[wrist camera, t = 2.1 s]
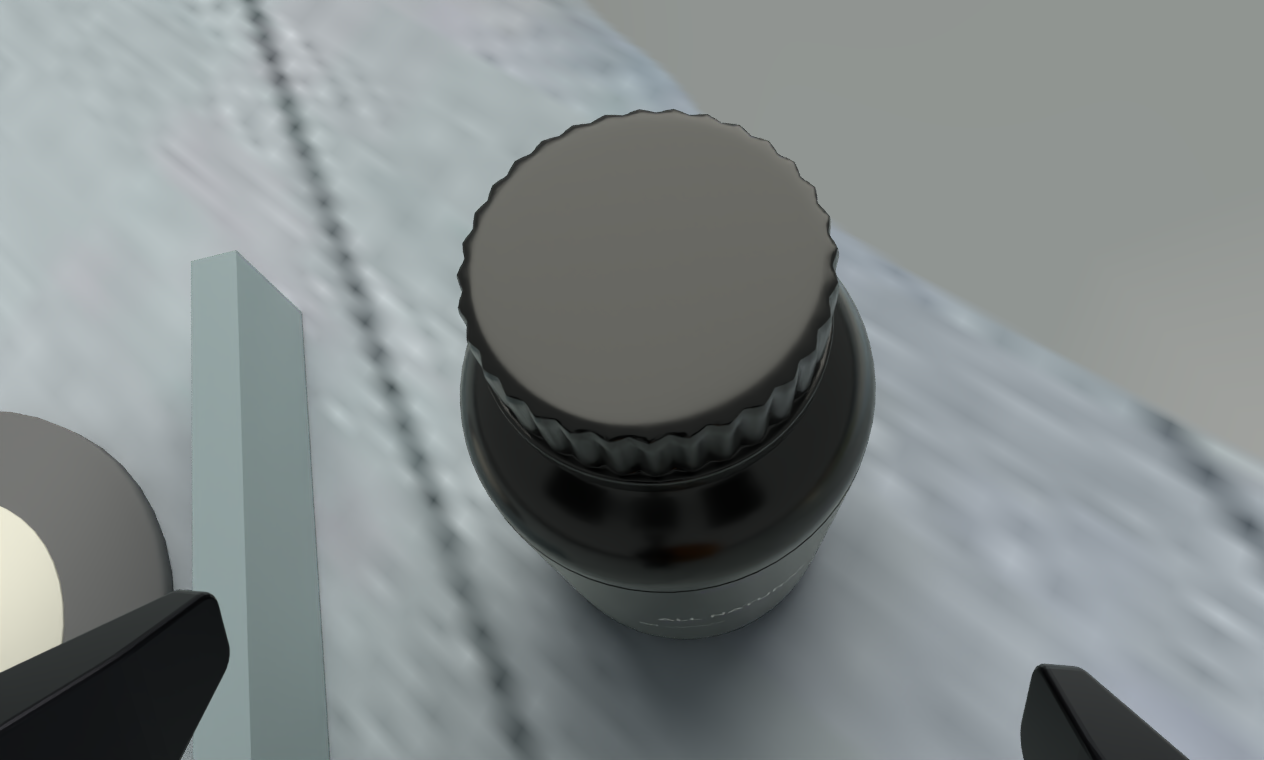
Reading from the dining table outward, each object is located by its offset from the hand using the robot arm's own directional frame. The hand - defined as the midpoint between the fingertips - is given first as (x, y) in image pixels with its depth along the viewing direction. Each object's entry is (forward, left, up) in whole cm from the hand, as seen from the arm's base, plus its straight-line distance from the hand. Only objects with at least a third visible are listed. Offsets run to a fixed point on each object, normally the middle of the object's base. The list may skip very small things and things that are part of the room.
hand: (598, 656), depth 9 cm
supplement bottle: (+4, +2, -12) cm, 12 cm away
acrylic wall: (-3, +9, -11) cm, 15 cm away
